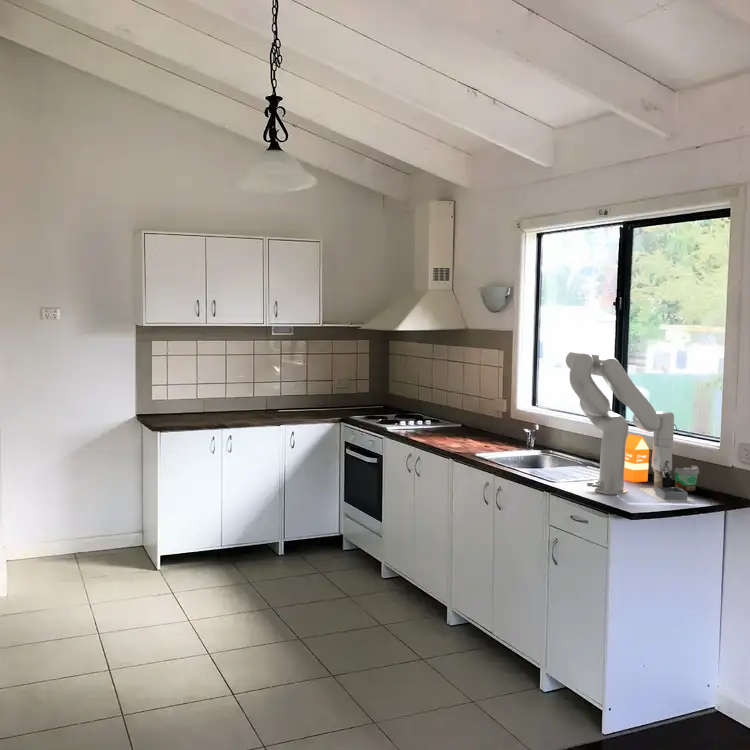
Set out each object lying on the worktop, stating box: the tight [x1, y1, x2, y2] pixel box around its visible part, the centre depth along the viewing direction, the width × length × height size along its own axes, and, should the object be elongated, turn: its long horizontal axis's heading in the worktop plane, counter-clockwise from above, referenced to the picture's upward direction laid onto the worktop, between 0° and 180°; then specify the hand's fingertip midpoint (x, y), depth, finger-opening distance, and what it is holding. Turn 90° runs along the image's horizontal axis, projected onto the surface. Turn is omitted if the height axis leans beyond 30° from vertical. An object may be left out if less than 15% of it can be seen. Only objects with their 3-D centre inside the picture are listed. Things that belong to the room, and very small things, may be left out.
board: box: [638, 487, 695, 502], centre depth 326 cm, size 14×22×1 cm, turn 2°
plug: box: [653, 470, 666, 491], centre depth 331 cm, size 5×5×8 cm
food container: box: [673, 464, 700, 492], centre depth 335 cm, size 12×6×10 cm, turn 126°
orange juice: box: [624, 433, 650, 483], centre depth 353 cm, size 8×9×20 cm
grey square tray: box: [655, 486, 689, 500], centre depth 321 cm, size 9×9×3 cm
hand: (661, 484), depth 332 cm, fingers open, 9 cm apart
